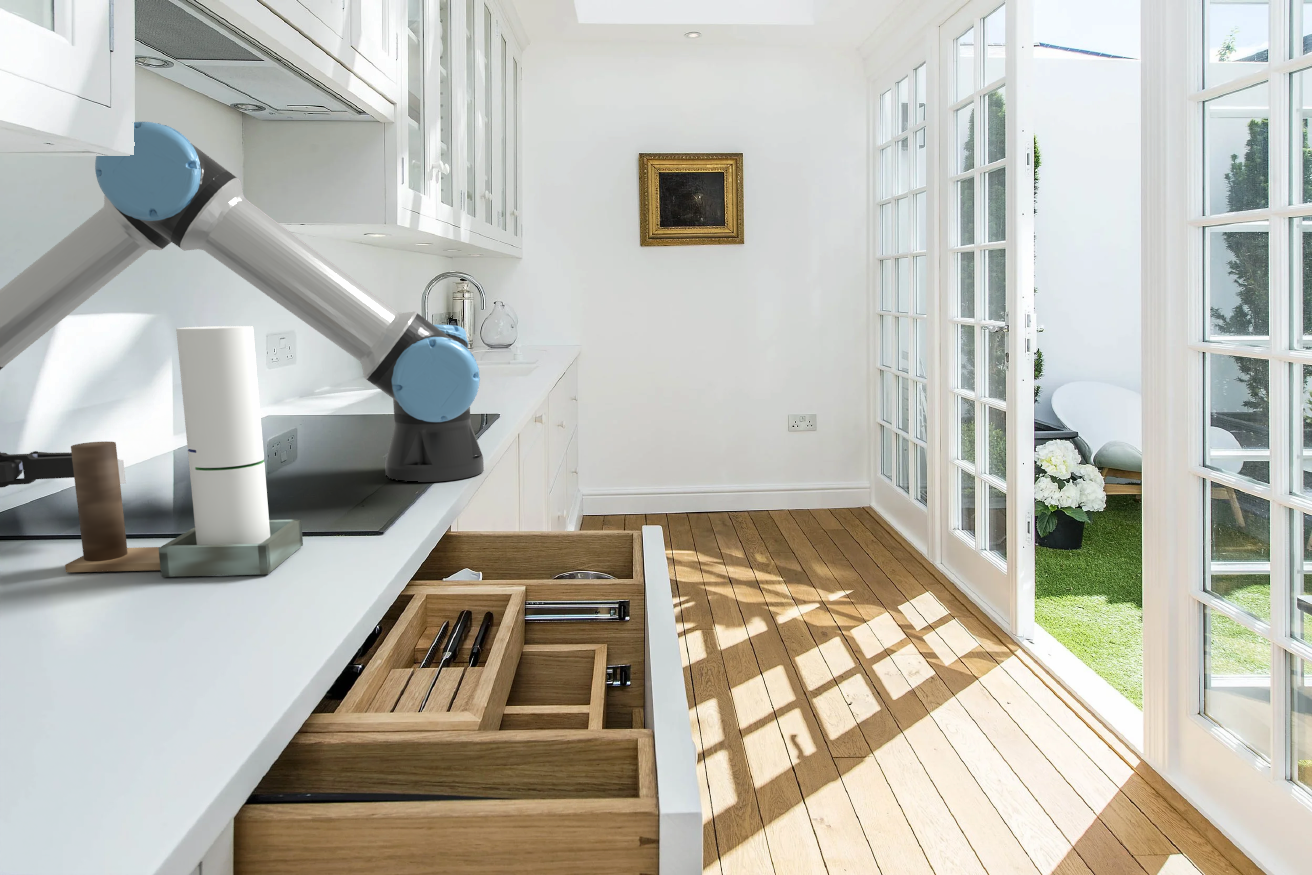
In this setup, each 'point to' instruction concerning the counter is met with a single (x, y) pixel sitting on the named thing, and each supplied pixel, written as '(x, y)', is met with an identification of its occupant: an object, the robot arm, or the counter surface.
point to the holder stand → (174, 558)
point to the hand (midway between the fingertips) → (59, 483)
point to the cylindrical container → (224, 434)
